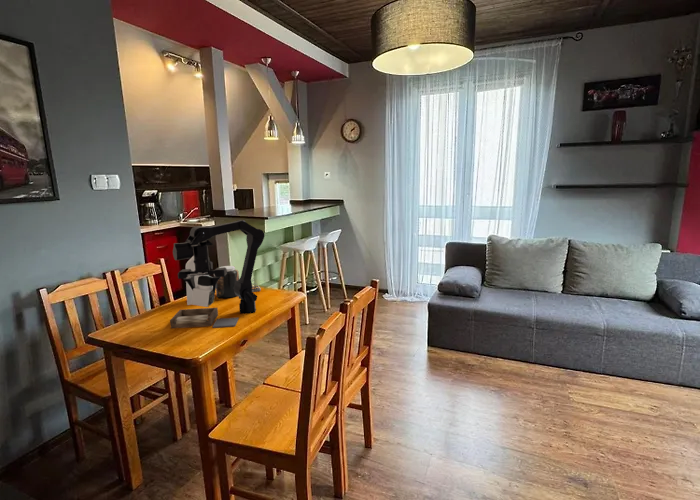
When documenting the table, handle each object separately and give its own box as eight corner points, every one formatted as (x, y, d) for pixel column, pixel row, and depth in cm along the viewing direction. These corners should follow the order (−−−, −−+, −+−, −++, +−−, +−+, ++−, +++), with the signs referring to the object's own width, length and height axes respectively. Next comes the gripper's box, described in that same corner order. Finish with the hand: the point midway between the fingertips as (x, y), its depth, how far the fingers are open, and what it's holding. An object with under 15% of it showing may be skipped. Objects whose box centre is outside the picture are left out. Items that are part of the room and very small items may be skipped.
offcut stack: (209, 323, 159) (208, 314, 158) (207, 325, 156) (207, 316, 156) (178, 325, 157) (177, 316, 156) (176, 327, 154) (175, 318, 154)
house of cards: (263, 287, 213) (263, 274, 212) (263, 291, 205) (263, 278, 203) (247, 288, 211) (246, 275, 210) (246, 293, 203) (246, 279, 201)
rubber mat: (238, 318, 163) (238, 317, 163) (235, 326, 154) (235, 325, 154) (217, 320, 162) (217, 318, 162) (212, 327, 153) (212, 326, 153)
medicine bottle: (208, 307, 156) (211, 280, 154) (191, 304, 156) (194, 277, 154) (214, 302, 163) (217, 276, 161) (197, 299, 163) (200, 273, 161)
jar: (226, 299, 191) (224, 270, 188) (212, 296, 197) (209, 268, 195) (244, 293, 201) (242, 266, 198) (230, 290, 207) (228, 264, 204)
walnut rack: (218, 315, 168) (217, 307, 167) (211, 325, 155) (210, 317, 154) (180, 317, 166) (180, 309, 165) (170, 328, 153) (170, 320, 152)
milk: (187, 298, 194) (183, 249, 189) (211, 295, 198) (207, 247, 194) (187, 305, 183) (182, 253, 178) (212, 302, 187) (208, 251, 183)
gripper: (228, 252, 164) (231, 286, 167) (184, 254, 162) (187, 288, 165) (222, 257, 154) (225, 293, 156) (175, 259, 152) (179, 296, 154)
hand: (204, 292), depth 158 cm, fingers closed on medicine bottle, 7 cm apart
